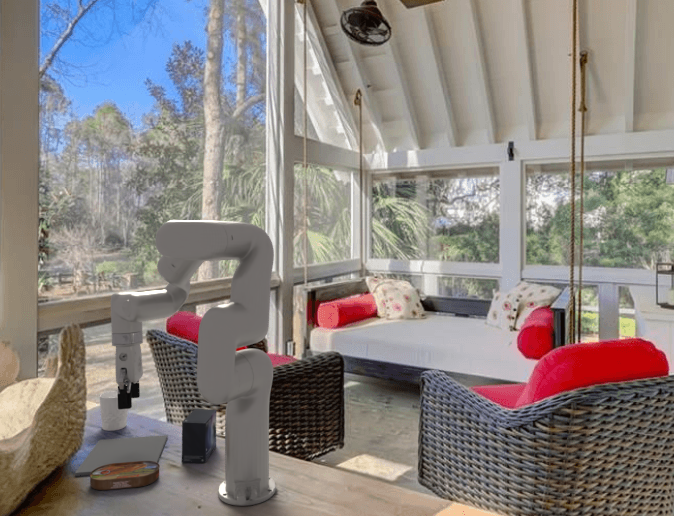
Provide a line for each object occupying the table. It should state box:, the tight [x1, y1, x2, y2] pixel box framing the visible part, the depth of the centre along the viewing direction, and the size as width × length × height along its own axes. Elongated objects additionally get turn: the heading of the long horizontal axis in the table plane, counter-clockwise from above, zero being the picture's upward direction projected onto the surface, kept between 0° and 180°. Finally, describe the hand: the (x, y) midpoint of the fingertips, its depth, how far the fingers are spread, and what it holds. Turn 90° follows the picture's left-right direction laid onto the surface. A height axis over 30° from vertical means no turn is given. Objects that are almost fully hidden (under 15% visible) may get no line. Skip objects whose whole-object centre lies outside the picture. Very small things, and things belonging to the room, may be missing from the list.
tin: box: [89, 461, 161, 491], centre depth 113 cm, size 15×3×8 cm
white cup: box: [99, 389, 129, 432], centre depth 147 cm, size 8×8×10 cm
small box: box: [181, 408, 217, 464], centre depth 128 cm, size 11×6×10 cm, turn 179°
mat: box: [74, 434, 169, 477], centre depth 127 cm, size 20×18×1 cm
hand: (129, 403), depth 130 cm, fingers open, 9 cm apart
